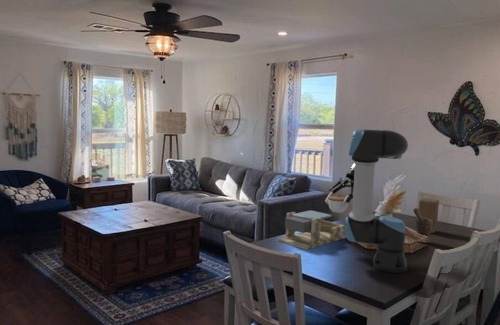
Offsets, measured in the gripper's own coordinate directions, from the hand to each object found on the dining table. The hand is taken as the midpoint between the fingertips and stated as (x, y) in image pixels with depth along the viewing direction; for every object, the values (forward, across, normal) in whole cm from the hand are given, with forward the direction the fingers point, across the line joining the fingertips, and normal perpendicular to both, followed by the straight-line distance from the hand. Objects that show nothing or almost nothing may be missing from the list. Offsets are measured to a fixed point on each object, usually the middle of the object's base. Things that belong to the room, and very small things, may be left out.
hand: (334, 204), depth 216 cm
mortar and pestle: (-19, -19, -54) cm, 60 cm away
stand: (+16, +17, -18) cm, 29 cm away
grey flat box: (+13, +16, -9) cm, 23 cm away
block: (-37, -7, -72) cm, 82 cm away
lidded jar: (+1, 0, -5) cm, 5 cm away
